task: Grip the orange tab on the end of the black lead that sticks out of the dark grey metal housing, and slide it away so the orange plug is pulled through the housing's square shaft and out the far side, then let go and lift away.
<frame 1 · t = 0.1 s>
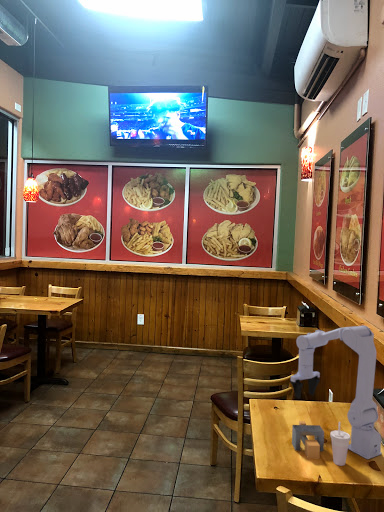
hand: (304, 396, 169), 10 cm above the table, tool pointing down, fingers open, 7 cm apart
housing: (307, 447, 147), on the table
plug: (311, 455, 142), on the table
smoothie: (339, 463, 137), on the table
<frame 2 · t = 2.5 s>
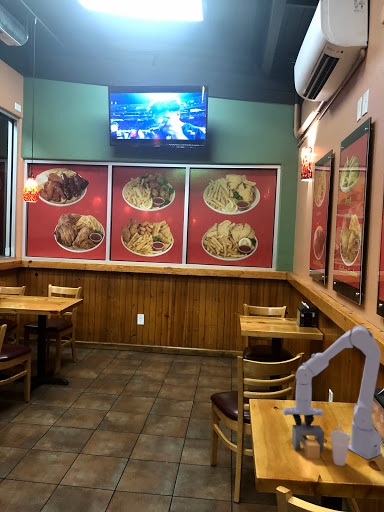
hand: (302, 433, 154), 2 cm above the table, tool pointing down, fingers closed on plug, 2 cm apart
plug: (311, 455, 142), on the table, touching gripper
everything else where it was.
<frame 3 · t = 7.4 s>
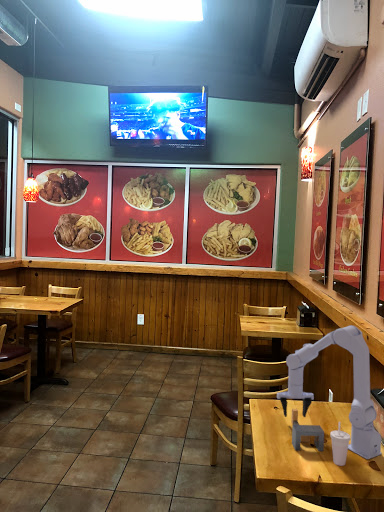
hand: (294, 416, 166), 3 cm above the table, tool pointing down, fingers open, 7 cm apart
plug: (302, 439, 153), on the table
everything else where it was.
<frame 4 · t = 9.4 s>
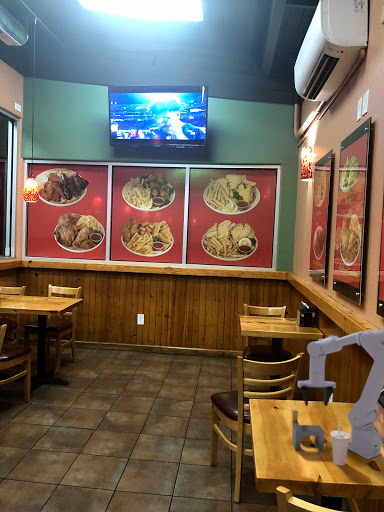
hand: (315, 405, 162), 9 cm above the table, tool pointing down, fingers open, 7 cm apart
nothing on the table moved.
at the end: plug 1.2 cm from the target spot, on the table; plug tilted 0°; the gripper is holding nothing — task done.
